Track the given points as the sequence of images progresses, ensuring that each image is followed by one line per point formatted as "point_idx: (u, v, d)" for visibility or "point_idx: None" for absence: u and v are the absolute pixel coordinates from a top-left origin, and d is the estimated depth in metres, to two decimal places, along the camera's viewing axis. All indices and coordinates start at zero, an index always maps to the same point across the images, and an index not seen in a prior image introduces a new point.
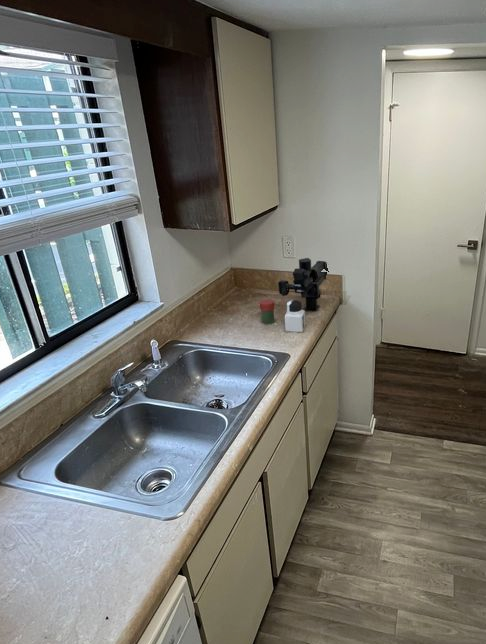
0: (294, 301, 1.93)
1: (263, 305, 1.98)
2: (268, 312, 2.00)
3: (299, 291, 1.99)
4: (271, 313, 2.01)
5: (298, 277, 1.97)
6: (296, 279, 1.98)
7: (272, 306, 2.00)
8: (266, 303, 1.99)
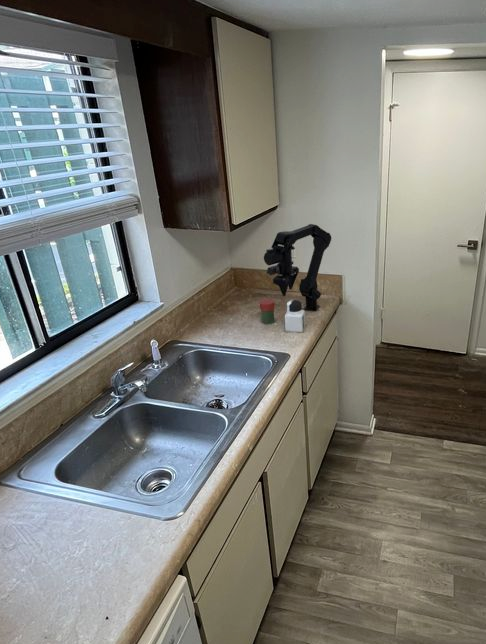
0: (294, 301, 1.93)
1: (263, 305, 1.98)
2: (268, 312, 2.00)
3: (289, 275, 2.00)
4: (271, 313, 2.01)
5: None
6: None
7: (272, 306, 2.00)
8: (266, 303, 1.99)
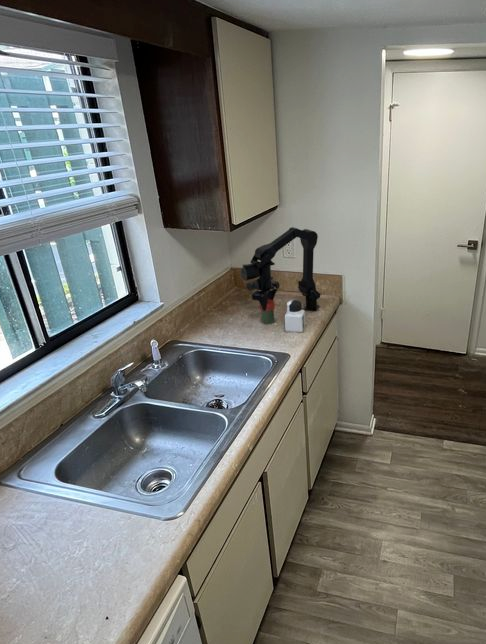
0: (294, 301, 1.93)
1: None
2: (268, 312, 2.00)
3: None
4: (271, 313, 2.01)
5: None
6: None
7: (272, 306, 2.00)
8: None
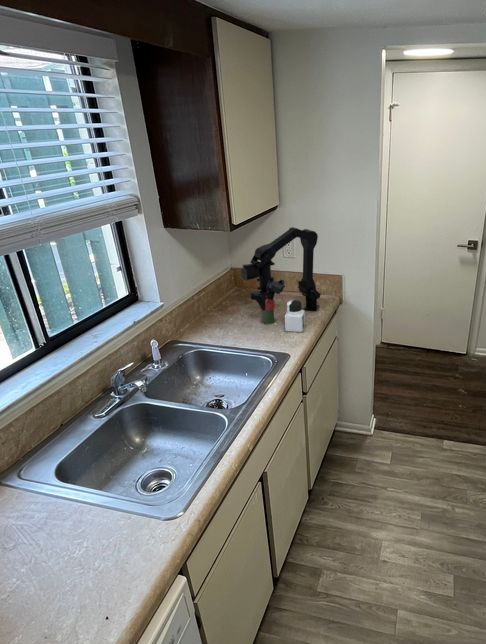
0: (294, 301, 1.93)
1: None
2: (268, 312, 2.00)
3: None
4: (271, 313, 2.01)
5: None
6: None
7: None
8: (267, 300, 2.03)
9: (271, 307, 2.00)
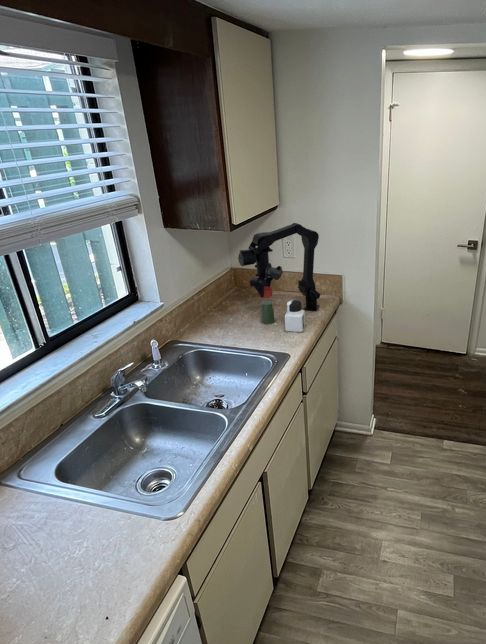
0: (294, 301, 1.93)
1: None
2: (268, 312, 2.00)
3: None
4: (271, 313, 2.01)
5: None
6: None
7: None
8: (265, 287, 2.02)
9: (269, 294, 1.99)
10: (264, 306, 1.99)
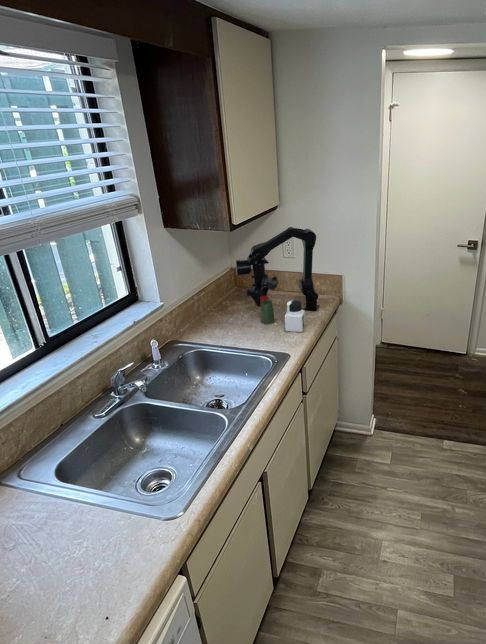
0: (294, 301, 1.93)
1: None
2: (268, 312, 2.00)
3: (256, 287, 2.06)
4: (271, 313, 2.01)
5: None
6: None
7: None
8: (261, 296, 2.11)
9: None
10: (264, 306, 1.99)
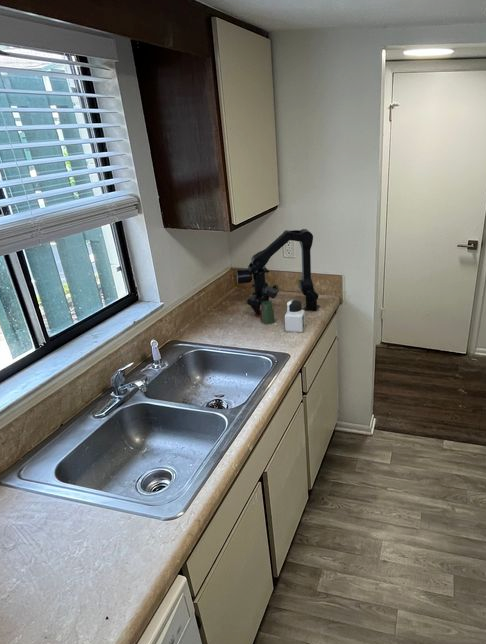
0: (294, 301, 1.93)
1: None
2: (268, 312, 2.00)
3: None
4: (271, 313, 2.01)
5: None
6: None
7: None
8: None
9: None
10: (264, 306, 1.99)
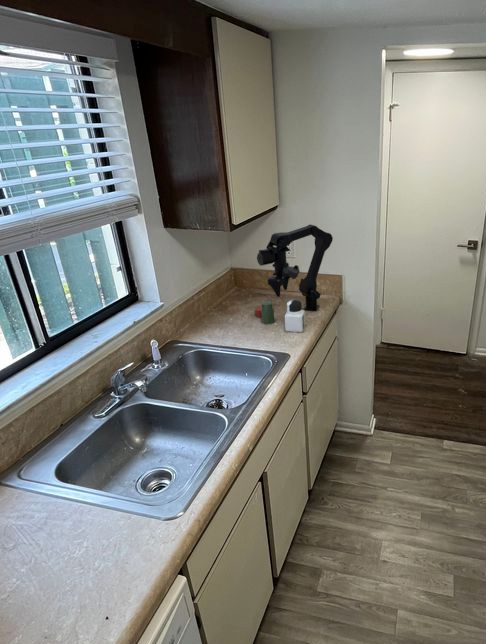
0: (294, 301, 1.93)
1: None
2: (268, 312, 2.00)
3: None
4: (271, 313, 2.01)
5: None
6: None
7: None
8: None
9: None
10: (264, 306, 1.99)
